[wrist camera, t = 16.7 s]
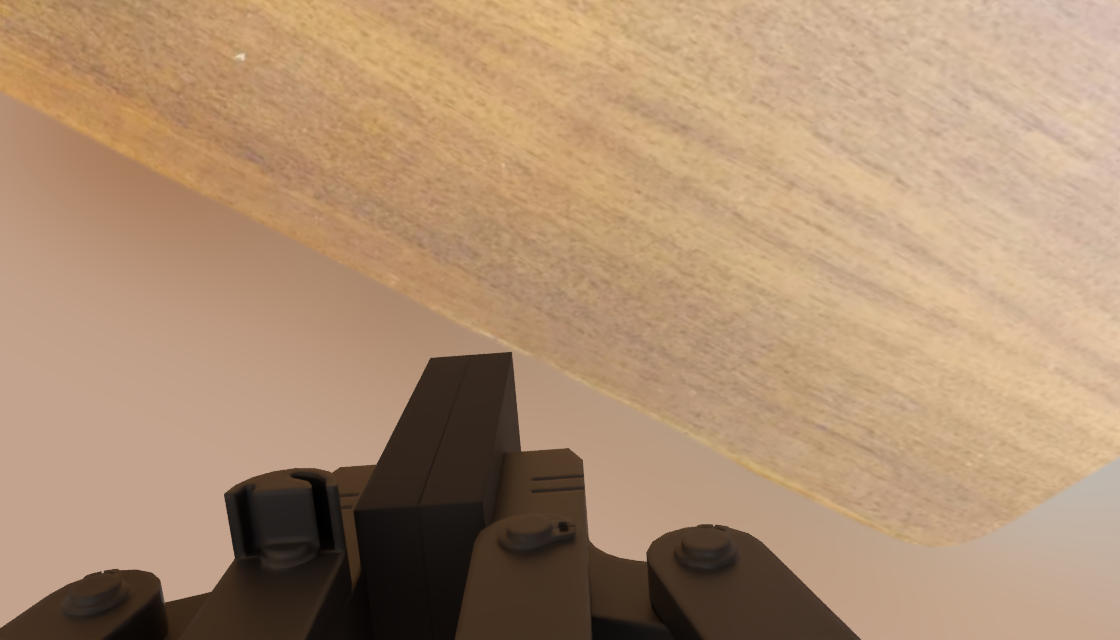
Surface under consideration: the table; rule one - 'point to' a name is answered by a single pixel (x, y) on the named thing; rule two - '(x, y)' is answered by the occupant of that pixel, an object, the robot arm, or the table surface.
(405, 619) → the robot arm
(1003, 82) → the table surface
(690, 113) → the table surface
